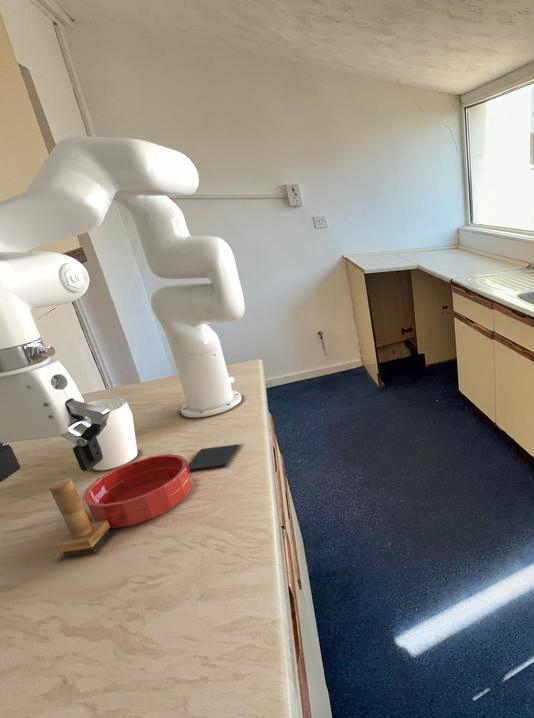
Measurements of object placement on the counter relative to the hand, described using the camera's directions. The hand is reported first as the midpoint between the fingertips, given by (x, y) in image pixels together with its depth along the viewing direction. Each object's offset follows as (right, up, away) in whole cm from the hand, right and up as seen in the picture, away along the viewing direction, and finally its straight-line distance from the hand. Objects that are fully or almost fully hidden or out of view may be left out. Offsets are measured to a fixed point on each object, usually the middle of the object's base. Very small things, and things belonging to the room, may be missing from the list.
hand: (51, 470), depth 56 cm
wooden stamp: (0, -13, +5) cm, 14 cm away
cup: (-16, -7, +25) cm, 30 cm away
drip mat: (+4, -6, +25) cm, 26 cm away
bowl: (+1, -10, +14) cm, 17 cm away
